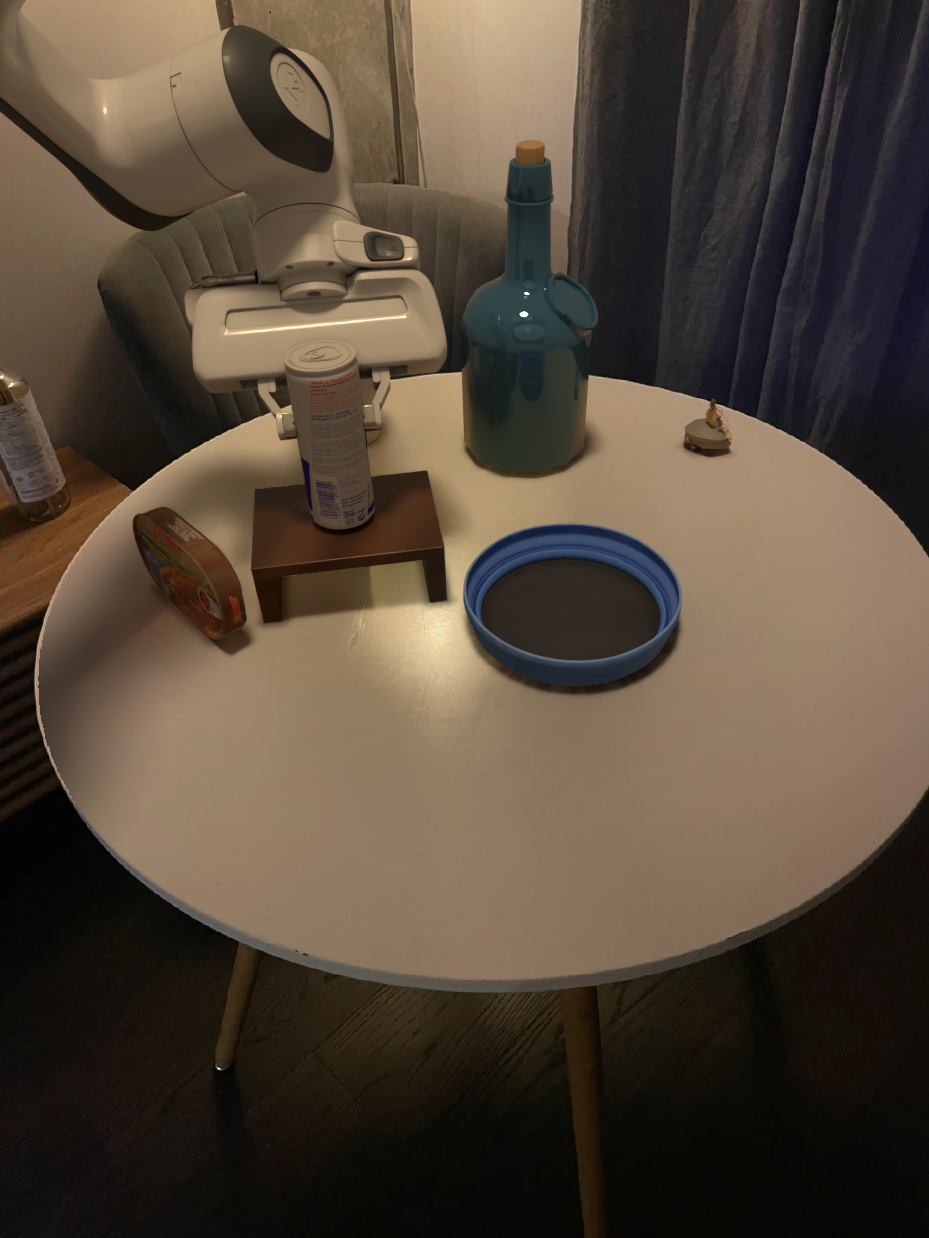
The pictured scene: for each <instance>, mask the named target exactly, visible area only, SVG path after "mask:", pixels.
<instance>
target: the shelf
mask: <svg viewBox="0 0 929 1238" xmlns="http://www.w3.org/2000/svg"><path fill="white" fill-rule="evenodd" d="M371 479H372V488H373V496H374V505H375V510H374V513H373V515H372V516H371V517H370V518H369V519H368V520H367V521H366V522H364V523H363V524H361V525H359V526H356V527H353V528H349V529H339V530H336V529H329V528H326V527H323V526H321V525H319V524H317V523H316V522H314V521H313V519H312V518H311V515H310V509H309V504H308V498H307V492H306V487H305V483H297V484H287V485H279V486H270V487H260V488H254V491H253V492H254V493H253V513H252V533H251V534H252V536H251V557H250V558H251V559H250V572H251V576H252V579H253V584H254V589H255V592H256V596H257V600H258V604H259V608H260V609H259V610H260V612H261V617H262V621H263V623H264V624H268V623H276V622H278V623H279V622H283V619H284V618H283V617H284V616H283V608H284V607H283V602H284V601H283V600H284V599H283V597H284V596H283V592H284V591H283V589H284V588H283V587H284V585H283V584H284V583H283V581H284V579H283V577H293V576H301V575H308V574H319V573H328V572H334V571H335V572H336V571H344V570H352V569H361V568H369V567H378V566H385V565H396V564H402V563H403V564H404V563H411V562H413V563H414V562H421V565H422V570H423V574H424V576H423V577H424V582H425V587H426V591H427V597H428V602H429V603H430V604H432V603H440V602H448V587H447V570H446V553H445V544H444V539H443V535H442V531H441V526H440V521H439V518H438V513H437V508H436V503H435V499H434V495H433V490H432V486H431V480H430V477H429V471H428V469H427V470H426V469H425V470H417V471H408V472H407V471H406V472H398V473H389V474H388V473H387V474H379V475H371Z"/></svg>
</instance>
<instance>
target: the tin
mask: <svg viewBox="0 0 929 1238" xmlns="http://www.w3.org/2000/svg"><path fill="white" fill-rule="evenodd" d="M132 533H133V537H134V541H135V544H136V547H137V550H138V553H139V555H140V557H141V560H142V562H143V564H144V567H145V568H146V570H147V573H148V575H149V576H150V578H151V580H152V581H153V583H154V585H155V586H156V587H157V589H158V590H159V591H160V593H161V594H162V595H163V596H164V597H165V598H166V599H167V600H168V601H169V602H171V604H172V605H174V606H175V607H176V609H178V610H179V611H180V612H181V613H182V614H183V615H184V616H185V617H186V618H187V619H189V621H190V622H192V623H193V624H194V625H195V626H196V627H197V628H198V629H199V630H200V631H201V632H202V633H203V634H204V635H205V636H206V637H207V638H209V639H211V640H213V641H220V640H221V639H223V637H226V636H227V635H229V634H232V633H234V632H236V631H238V630H239V629H241V628H243V626H245V625H246V623H247V621H248V620H247V619H248V617H247V612H246V611H247V610H246V604H245V600H244V595H243V588H242V583H241V581H240V579H239V577H238V575H237V573H236V570H235V569H234V567H233V565H232V563H231V561H230V560H229V559H228V557H227V556H226V555H225V553H224V552H223V550H221V549H220V548H219V546H218V545H217V544H216V543H214V542H213V540H211V539H209V537H207V536H206V535H204V534H203V532H201V531H199V530H198V528H196V527H195V526H194V525H192V524H191V522H189V521H187V520H186V519H185V518H184V517H183V516H181V515H180V514H179V513H178V512H176V511H175V510H174V509H172V508H170V507H168V506H159V507H156V508H153V509H150V510H148V511H145V512H141V513H136V514H135V515H134V516H133V517H132Z"/></svg>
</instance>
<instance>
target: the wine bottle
mask: <svg viewBox="0 0 929 1238" xmlns="http://www.w3.org/2000/svg"><path fill="white" fill-rule="evenodd" d="M545 150H546V147H545V143H544V142H542V141H540V140H536V139H534V140H533V139H530V140H529V139H527V140H526V139H525V140H522V141H519V142H517V143H516V145H515V157H514V158H513V157H512V158H511V159H510V160H509V164H508V171H507V179H506V190H505V195H504V196H505V197H504V199H503V200H504V202H505V203H507V205H506V206H507V208H506V209H507V210H506V231H505V232H506V235H505V238H506V239H505V258H504V259H505V260H504V261H505V262H504V271H503V272H502V274H501V275H498V276H497V277H494V278H493V279H491V280H490V281H488V282H485V283H484V284H482V285H481V286H480V287H478V288H476V289H475V290H474V292H473V293H471V295H470V296H469V298H468V299H467V303H466V306H465V307H464V311H463V314H462V317H461V321H460V325H459V326H460V329H459V331H460V356H461V357H460V359H461V387H462V388H461V389H462V390H461V391H462V419H463V420H462V421H463V424H462V425H463V442H464V444H465V446H466V447H467V449H468V450H469V451H470V453H471V454H472V455H473V457H474V458H475V459H476V460H477V461H478V463H479V464H482V465H484V466H487V467H489V468H492V469H495V470H497V471H499V472H503V473H509V474H510V473H512V474H530V475H531V474H533V475H536V474H540V473H544V472H548V471H552V470H556V469H560V468H563V467H565V466H567V464H569V463H570V462H571V461H572V460H574V459H575V458H576V457H577V456H578V455H580V453H581V452H582V451H583V449H584V447H585V435H586V434H585V433H586V419H587V407H588V406H587V405H588V391H589V378H590V363H591V350H592V349H591V348H592V336H593V335H592V334H593V331H594V330H595V329H596V328H597V326H598V323H599V313H598V308H597V305H596V302H595V300H594V299H593V297H592V295H591V294H590V292H589V291H588V290H587V288H586V287H585V286H584V285H582V284H581V283H580V282H578V281H577V280H575V279H574V278H573V277H571V276H569V275H567V274H566V273H564V272H561V271H555V272H554V271H553V270H552V203H554V199H555V195H554V194H553V192H554V191H553V190H554V188H553V176H552V161H551V160H550V159H549V158H547V157H546V156H545Z"/></svg>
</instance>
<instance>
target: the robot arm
mask: <svg viewBox="0 0 929 1238" xmlns="http://www.w3.org/2000/svg"><path fill="white" fill-rule="evenodd" d="M26 1H27V0H0V113H1V114H2V115H3V116H4V117H6V119H8V120H9V121H11V122H12V124H14V125H15V126H17V127H18V129H20V130H21V131H23V132H24V133H25V134H26V135H27V136H28V137H30V138H31V139H32V140H34V141H35V143H37V144H38V145H40V146H41V148H43V149H44V150H45V151H47V152H48V153H49V154H50V155H51V156H52V157H54V158H55V159H56V160H57V161H59V163H61V164H62V165H63V166H64V167H65V168H66V169H67V170H68V171H69V172H70V173H71V174H72V175H73V176H74V177H75V178H76V180H77V181H78V182H79V183H80V185H81V186H82V187H83V188H84V189H85V191H86V192H87V193H88V194H89V195H90V196H91V197H92V199H93V200H94V201H95V202H96V203H97V204H99V206H100V207H101V208H103V209H104V210H105V211H106V212H107V213H108V214H109V215H111V216H112V217H114V218H116V219H117V220H119V221H120V222H122V223H125V224H127V225H128V226H131V227H132V228H135V229H138V230H141V231H145V232H158V231H160V230H163V229H165V228H167V227H169V226H170V225H173V224H174V223H176V222H178V221H180V220H182V219H184V218H185V217H188V216H190V215H191V214H193V213H195V212H196V211H198V210H200V209H203V208H205V207H209V206H211V205H213V204H216V203H218V202H221V201H224V200H227V199H229V198H232V197H233V196H236V195H239V194H241V193H243V192H244V194H245V195H246V196H249V197H250V198H251V199H252V201H253V202H252V203H253V216H252V222H251V234H252V235H251V236H252V243H253V252H254V260H255V268H256V269H255V270H250V271H249V270H248V271H237V272H233V273H228V274H206V275H203V276H200V278H199V279H200V280H198V281H196V282H194V283H192V284H191V285H190V286H188V287H187V289H186V291H185V294H184V296H183V297H184V298H183V305H184V312H185V319H186V321H187V323H188V325H189V326H190V328H191V329H192V337H191V355H192V368H193V369H192V370H193V373H194V375H195V378H196V379H197V381H198V383H199V384H200V385H201V386H202V387H203V388H204V389H205V390H206V391H208V392H209V393H211V394H224V393H235V392H245V391H256V390H257V391H258V395H259V397H260V399H261V401H262V403H263V404H264V406H265V407H266V409H267V410H268V411H269V412H270V414H271V415H272V416H273V418H274V419H275V423H276V431H277V437H278V439H279V441H288V440H289V441H290V440H297V432H296V426H295V424H294V418H293V413H292V412H284V411H283V409H281V407H280V405H278V403H277V402H276V401H279V399H280V394H279V393H280V392H279V388H288V385H287V379H286V373H285V364H284V356H285V354H286V353H287V352H288V351H289V350H290V349H292V348H293V347H295V346H298V345H300V344H303V343H306V342H310V341H317V340H336V341H342V342H345V343H348V344H350V345H351V346H353V347H354V348H355V350H356V359H357V361H358V367H359V376H360V380H361V379H372V380H373V388H374V390H377V392H376V395H375V397H374V400H373V402H372V405H364V406H363V415H364V419H363V421H364V429H365V431H366V432H368V431H380V430H381V431H383V421H382V409H383V408H384V405H385V403H386V400H387V398H388V395H389V393H390V391H391V378H392V377H393V378H394V377H402V376H412V375H422V374H423V375H424V374H434V373H437V372H439V371H440V370H441V368H443V367H442V366H443V365H444V364H445V362H446V360H447V357H448V342H447V335H446V330H445V325H444V320H443V315H442V312H441V311H442V310H441V308H440V307H441V306H440V303H439V300H438V297H437V294H436V291H435V289H434V286H433V284H432V282H431V281H430V279H429V278H428V277H427V275H425V274H424V273H423V272H421V255H420V249H419V245H418V242H417V241H416V240H415V239H414V238H412V237H410V236H407V235H403V234H399V233H394V232H390V231H385V230H381V229H377V228H374V227H369V226H365V225H362V223H361V219H360V216H359V213H358V210H357V209H356V206H355V203H354V188H355V182H356V181H355V180H356V175H355V174H356V173H355V166H354V158H353V152H352V146H351V140H350V134H349V130H348V125H347V121H346V116H345V113H344V109H343V106H342V105H343V104H342V101H341V99H340V96H339V92H338V89H337V87H336V84H335V81H334V78H333V77H332V75H331V73H330V72H329V70H328V68H327V67H325V65H324V64H323V63H322V61H320V60H318V59H317V58H316V57H314V56H313V55H311V54H309V53H308V52H305V51H303V50H299V49H296V48H291V47H286V46H285V45H283V44H282V43H280V42H279V41H277V40H276V39H275V38H273V37H271V36H270V35H269V34H267V33H264V32H262V31H260V30H258V29H255V28H253V27H251V26H248V25H243V24H236V25H233V26H231V27H228V28H225V29H221V30H219V31H217V32H214V33H213V34H211V35H208V36H206V37H204V38H202V39H200V40H198V41H196V42H194V43H191V44H190V45H187V46H185V47H183V48H181V49H179V50H178V51H177V52H176V53H173V54H171V55H170V56H167V57H165V58H163V59H160V60H159V61H157V62H155V63H153V64H150V65H148V66H145V67H144V68H142V69H139V70H138V71H136V72H133V73H131V74H129V75H125V76H121V77H115V78H94V77H90V76H87V75H85V74H84V73H82V72H81V71H80V69H78V68H77V67H76V66H75V65H74V63H73V62H71V60H69V58H68V57H67V56H65V55H64V54H63V53H62V51H60V50H59V48H57V46H56V45H55V44H54V43H52V42H51V40H49V38H48V37H47V36H46V35H45V34H44V33H42V31H40V29H39V28H38V27H37V26H35V24H34V23H33V22H32V21H31V20H30V19H29V18H28V17H27V16H25V14H24V13H23V12H22V11H21V10H22V8H23V6H24V4H25V3H26ZM295 367H296V366H295Z"/></svg>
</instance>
